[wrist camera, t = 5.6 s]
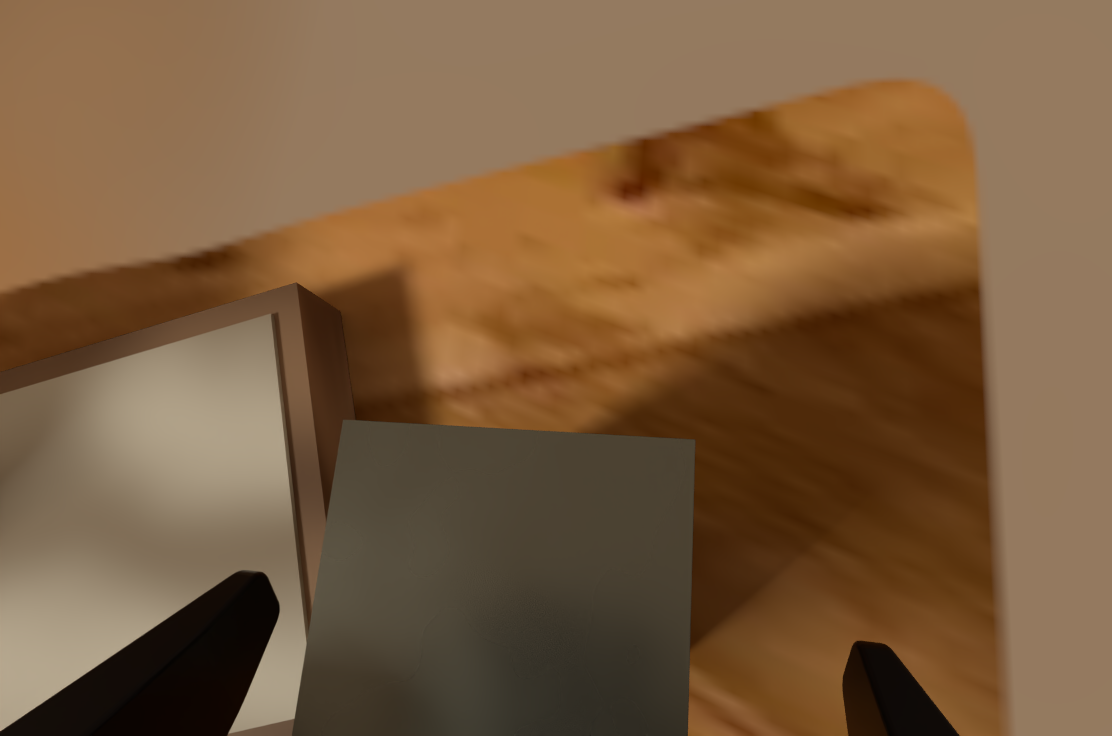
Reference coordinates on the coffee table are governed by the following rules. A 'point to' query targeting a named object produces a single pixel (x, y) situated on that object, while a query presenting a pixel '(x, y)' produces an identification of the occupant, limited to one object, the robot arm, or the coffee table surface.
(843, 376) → the coffee table surface
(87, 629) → the brown framed square mirror
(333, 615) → the olive grey square block
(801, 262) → the coffee table surface
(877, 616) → the coffee table surface
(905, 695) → the robot arm
